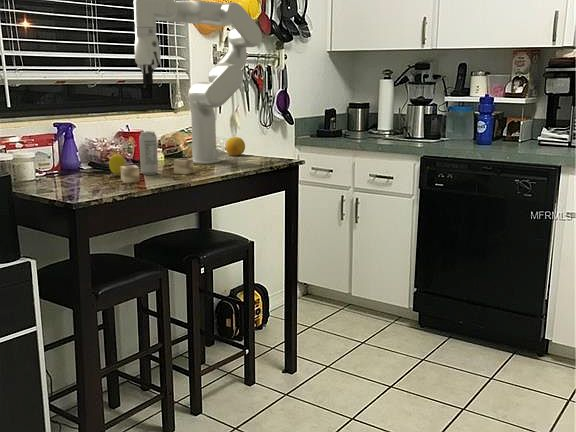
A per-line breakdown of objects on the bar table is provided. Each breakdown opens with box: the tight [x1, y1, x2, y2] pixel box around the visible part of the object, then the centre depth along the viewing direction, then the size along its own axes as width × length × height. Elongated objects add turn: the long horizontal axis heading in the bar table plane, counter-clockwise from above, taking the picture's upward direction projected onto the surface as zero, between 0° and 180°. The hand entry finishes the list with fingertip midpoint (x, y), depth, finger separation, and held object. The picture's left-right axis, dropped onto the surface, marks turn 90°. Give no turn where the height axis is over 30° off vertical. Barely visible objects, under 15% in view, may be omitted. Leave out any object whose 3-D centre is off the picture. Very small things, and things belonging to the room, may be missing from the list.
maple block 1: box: [120, 164, 141, 184], centre depth 211 cm, size 5×5×5 cm
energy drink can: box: [138, 130, 159, 176], centre depth 224 cm, size 6×6×15 cm
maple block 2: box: [173, 157, 194, 175], centre depth 228 cm, size 5×5×5 cm
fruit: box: [224, 136, 246, 157], centre depth 270 cm, size 9×8×8 cm
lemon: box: [108, 152, 126, 176], centre depth 221 cm, size 6×6×8 cm
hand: (148, 84), depth 232 cm, fingers closed
